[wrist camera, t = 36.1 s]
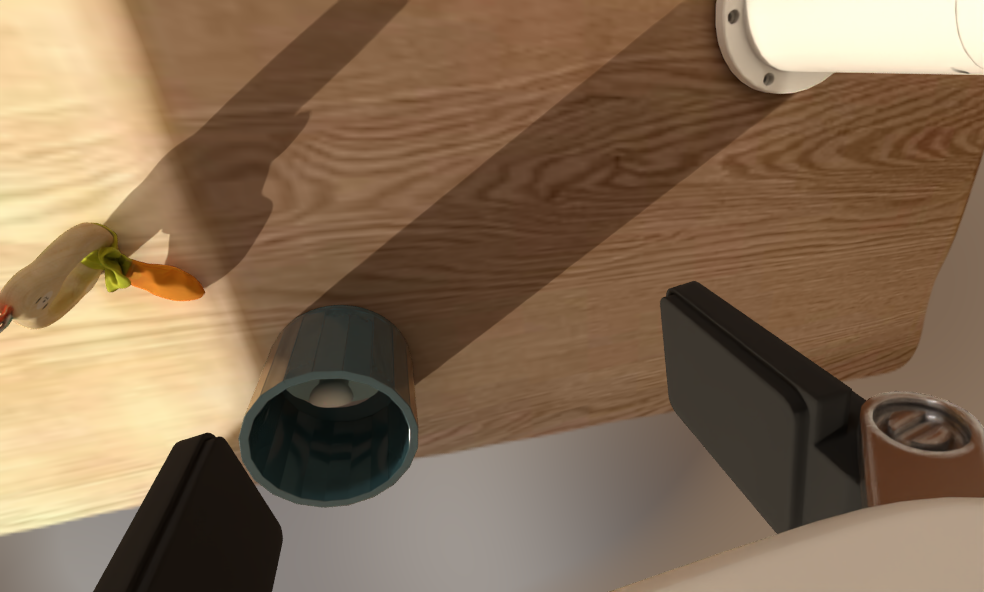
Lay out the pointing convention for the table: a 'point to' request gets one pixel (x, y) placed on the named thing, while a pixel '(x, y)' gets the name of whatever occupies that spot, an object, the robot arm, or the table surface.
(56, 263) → the rattle
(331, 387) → the pacifier
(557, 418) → the table surface
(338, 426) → the cup
